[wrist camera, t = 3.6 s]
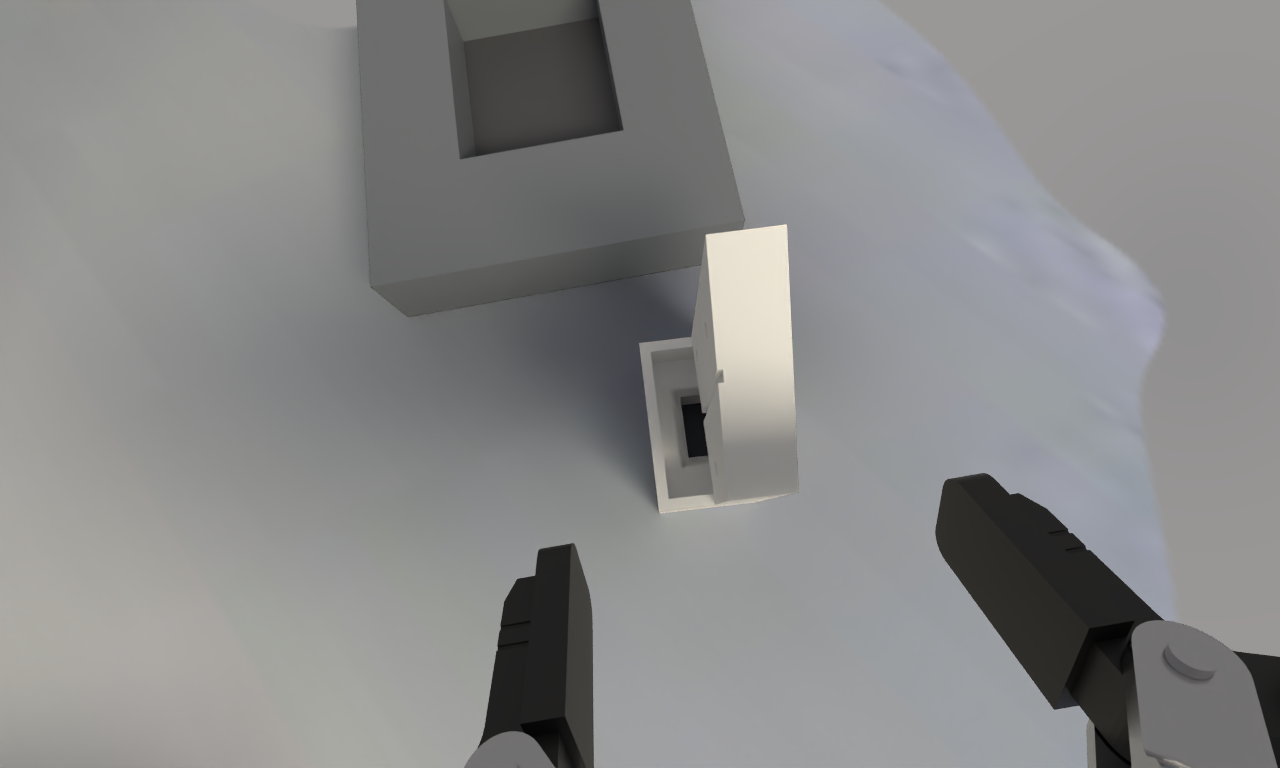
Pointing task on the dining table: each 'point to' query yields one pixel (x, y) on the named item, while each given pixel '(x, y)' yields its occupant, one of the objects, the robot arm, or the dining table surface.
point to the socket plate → (535, 146)
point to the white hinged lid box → (728, 380)
